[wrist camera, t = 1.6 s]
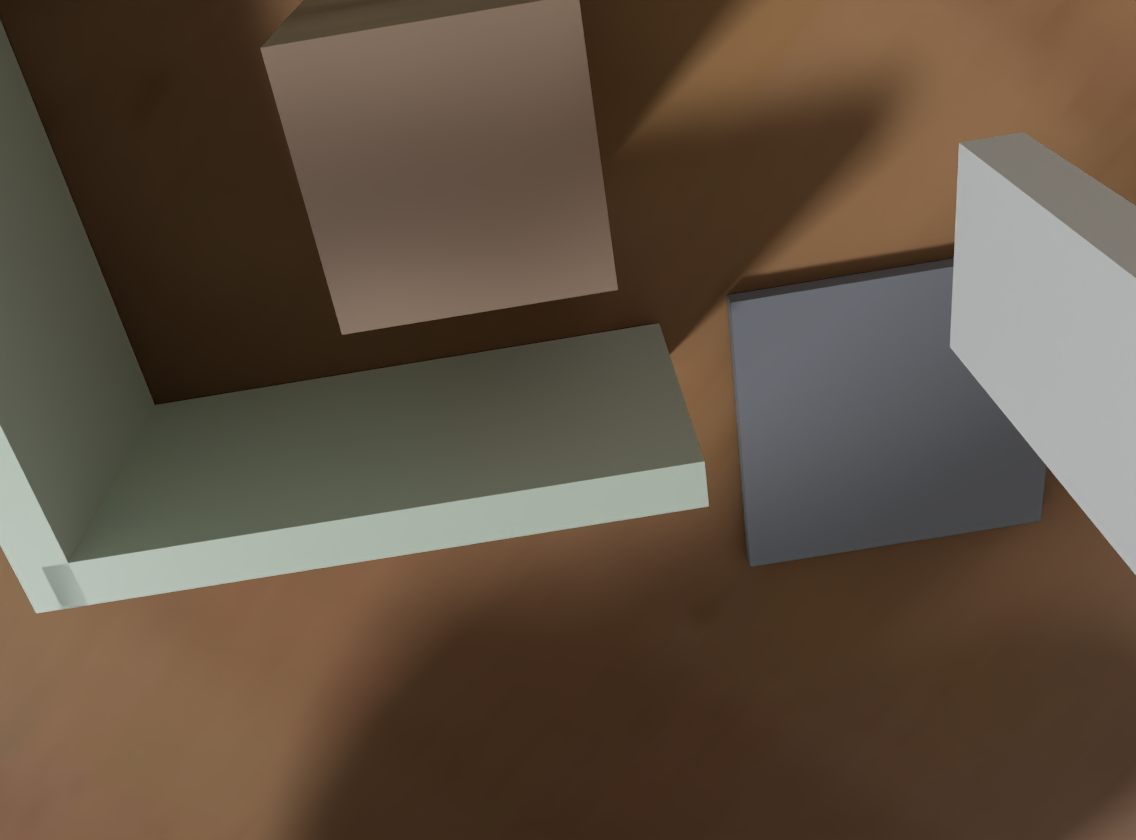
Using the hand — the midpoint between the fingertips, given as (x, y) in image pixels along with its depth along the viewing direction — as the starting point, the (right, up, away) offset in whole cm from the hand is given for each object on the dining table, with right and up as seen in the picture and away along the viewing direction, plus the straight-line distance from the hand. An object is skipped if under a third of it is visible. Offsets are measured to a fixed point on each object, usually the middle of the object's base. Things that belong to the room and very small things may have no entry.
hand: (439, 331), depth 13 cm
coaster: (+11, -1, +18) cm, 21 cm away
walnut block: (-1, +7, +12) cm, 14 cm away
